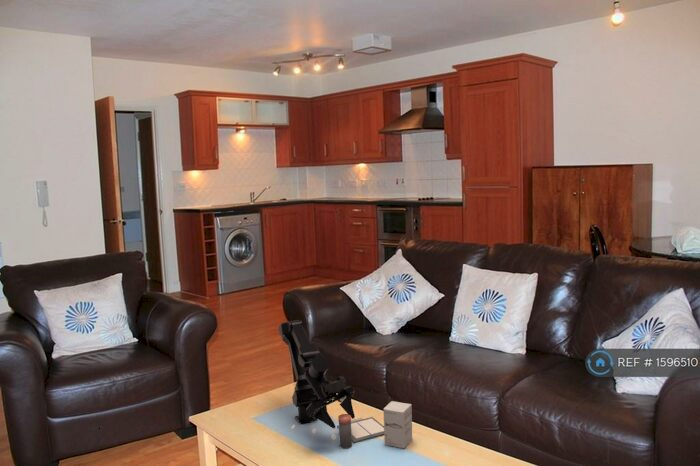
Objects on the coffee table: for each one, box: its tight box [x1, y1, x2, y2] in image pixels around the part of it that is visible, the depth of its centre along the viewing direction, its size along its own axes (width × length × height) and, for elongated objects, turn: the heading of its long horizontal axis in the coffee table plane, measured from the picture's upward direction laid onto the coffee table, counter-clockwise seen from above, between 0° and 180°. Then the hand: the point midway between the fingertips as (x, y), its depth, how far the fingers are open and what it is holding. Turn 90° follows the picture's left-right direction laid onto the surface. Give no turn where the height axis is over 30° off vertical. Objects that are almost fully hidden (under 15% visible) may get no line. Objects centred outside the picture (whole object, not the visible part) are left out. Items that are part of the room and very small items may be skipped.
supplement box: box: [383, 400, 413, 449], centre depth 196 cm, size 7×7×13 cm
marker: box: [337, 413, 353, 449], centre depth 195 cm, size 4×4×10 cm
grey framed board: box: [336, 416, 384, 444], centre depth 206 cm, size 14×14×1 cm
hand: (344, 422), depth 195 cm, fingers open, 9 cm apart
